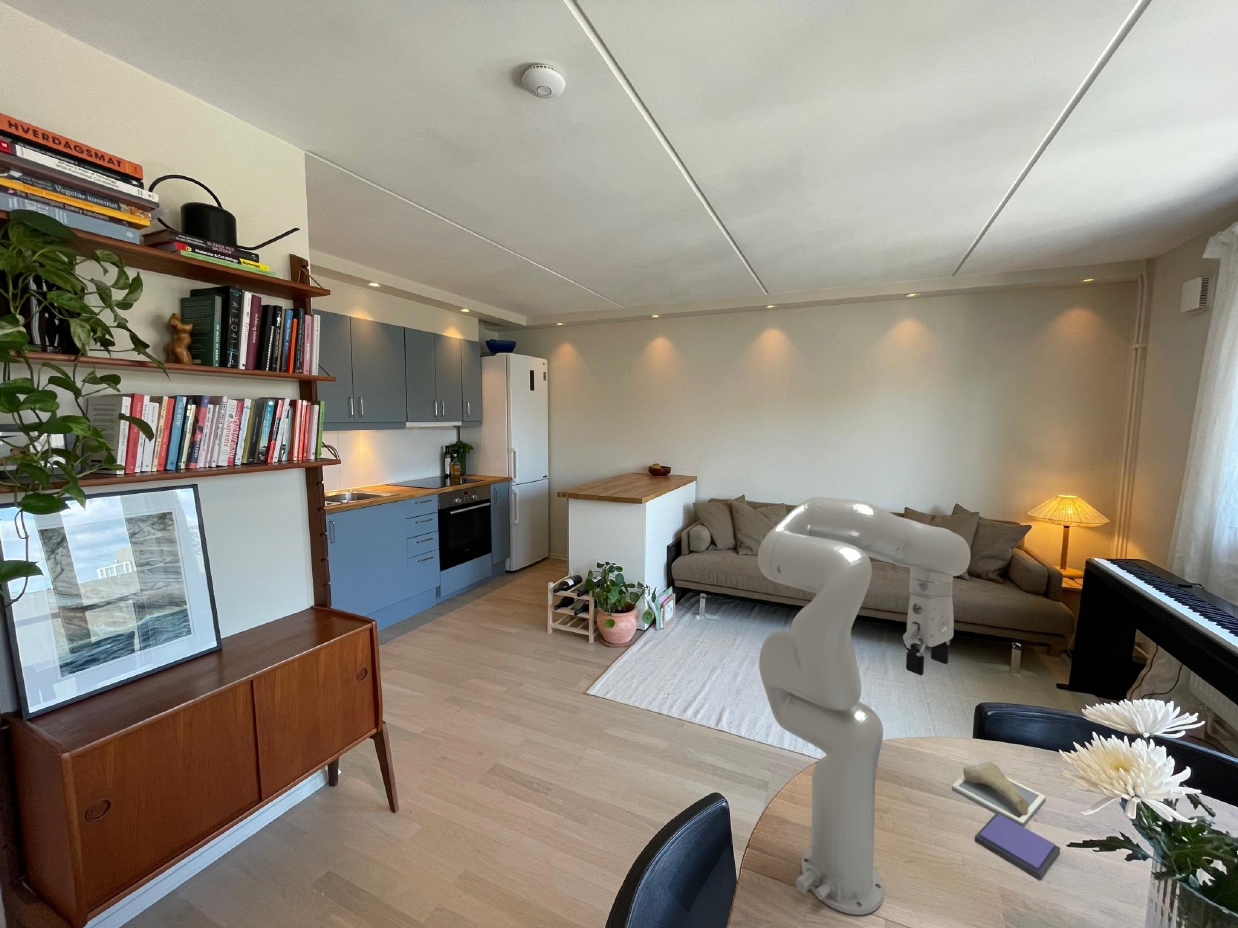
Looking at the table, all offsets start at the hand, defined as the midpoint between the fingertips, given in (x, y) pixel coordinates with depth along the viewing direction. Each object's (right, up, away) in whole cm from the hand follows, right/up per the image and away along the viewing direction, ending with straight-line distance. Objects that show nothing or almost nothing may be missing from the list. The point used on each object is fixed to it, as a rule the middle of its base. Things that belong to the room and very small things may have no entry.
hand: (927, 666), depth 103 cm
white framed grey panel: (+13, -26, -2) cm, 29 cm away
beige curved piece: (+12, -25, -3) cm, 28 cm away
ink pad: (+7, -27, -14) cm, 31 cm away
